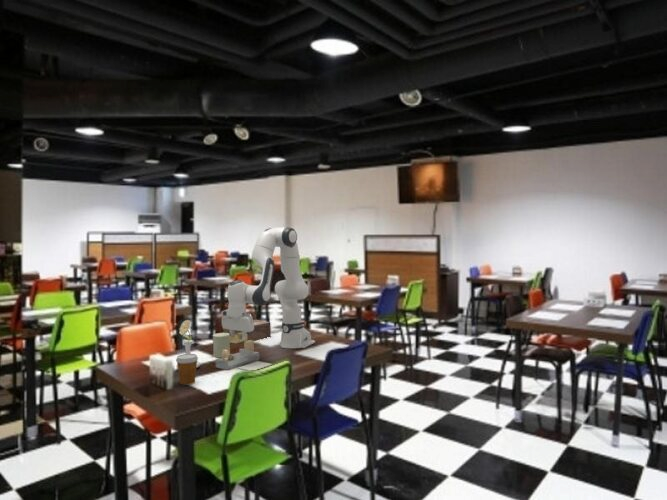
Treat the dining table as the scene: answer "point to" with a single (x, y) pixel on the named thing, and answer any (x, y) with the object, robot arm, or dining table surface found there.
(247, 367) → the mat
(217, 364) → the hand plane
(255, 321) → the tissue box cover
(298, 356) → the dining table surface
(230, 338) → the lever cap
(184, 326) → the flower in vase
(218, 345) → the can
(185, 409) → the dining table surface
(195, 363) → the disposable coffee cup
